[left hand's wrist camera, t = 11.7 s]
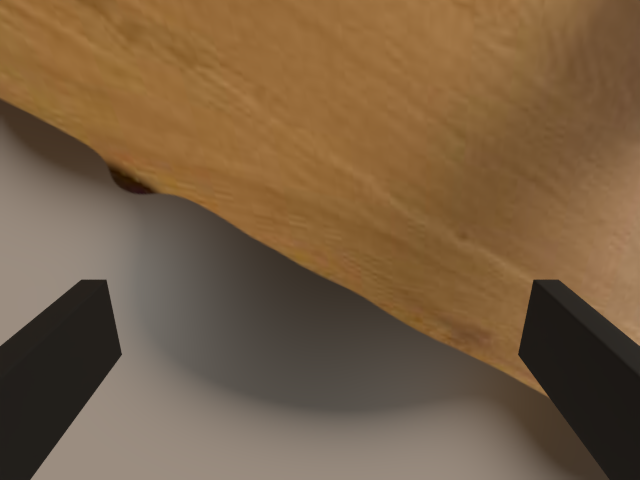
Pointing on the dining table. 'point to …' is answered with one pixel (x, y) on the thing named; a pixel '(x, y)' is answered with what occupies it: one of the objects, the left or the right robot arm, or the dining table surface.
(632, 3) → the dining table surface
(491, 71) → the dining table surface
